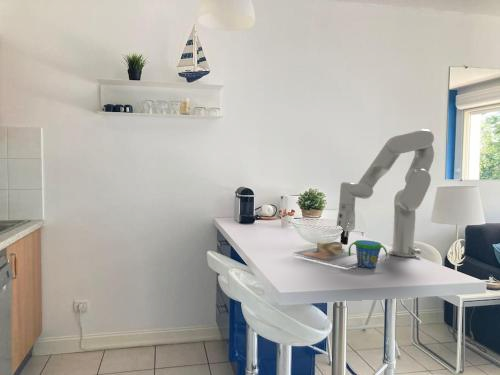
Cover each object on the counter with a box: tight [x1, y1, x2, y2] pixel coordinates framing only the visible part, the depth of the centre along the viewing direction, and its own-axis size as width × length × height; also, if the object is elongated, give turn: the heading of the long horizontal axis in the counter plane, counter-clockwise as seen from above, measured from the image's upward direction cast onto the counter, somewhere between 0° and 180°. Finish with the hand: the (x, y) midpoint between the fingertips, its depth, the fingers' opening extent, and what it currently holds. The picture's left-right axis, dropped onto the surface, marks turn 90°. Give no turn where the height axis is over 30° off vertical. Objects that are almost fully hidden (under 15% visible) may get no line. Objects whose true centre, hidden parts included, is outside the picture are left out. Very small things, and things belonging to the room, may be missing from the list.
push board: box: [292, 247, 357, 262], centre depth 187 cm, size 20×23×1 cm
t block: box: [316, 241, 343, 255], centre depth 192 cm, size 11×10×4 cm
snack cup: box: [347, 239, 388, 269], centre depth 169 cm, size 16×10×10 cm
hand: (343, 244), depth 199 cm, fingers closed
